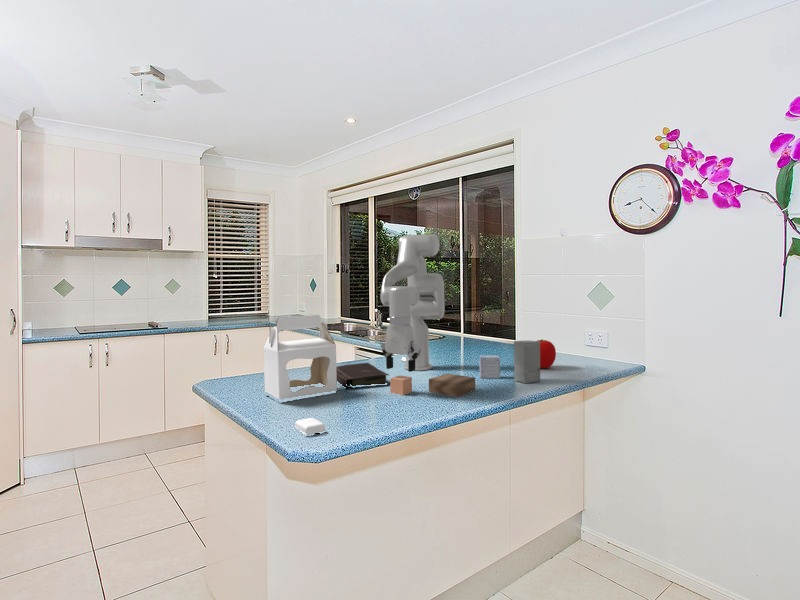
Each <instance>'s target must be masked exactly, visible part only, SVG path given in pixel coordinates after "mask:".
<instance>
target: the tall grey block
mask: <svg viewBox="0 0 800 600" xmlns="http://www.w3.org/2000/svg"><path fill="white" fill-rule="evenodd" d="M513 369H514V370H513V374H514V375H513V380H514V381H515V382H520V383H522V384H525V383H526V384H531V382H532V383H537V382H541V368H540V342H539V341H537V340H530V339H529V340H515V341H513Z"/></svg>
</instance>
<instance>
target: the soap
mask: <svg viewBox="0 0 800 600" xmlns="http://www.w3.org/2000/svg"><path fill="white" fill-rule="evenodd" d="M294 426H295V427H296V428H297V429H299V430H300V432H302V433H303V434H305V435H309V434H314V433H318V432H323V431H326V430H327V428H326V425H325V424H324V423H323V422H321V421H320V420H318V419H316V418H314V417H310V418H303V419H299V420H296V421H295V423H294Z"/></svg>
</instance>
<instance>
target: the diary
mask: <svg viewBox="0 0 800 600" xmlns="http://www.w3.org/2000/svg"><path fill="white" fill-rule="evenodd" d="M336 372H337V381H338V382H339V383H340V384H342V386H344V387H347V386H346V384H347V385H348V386H350V384H351V385H352V386H356V385H371V384H385V383H388V382H387V376H390V374H388V373H386V372H385V371H383V370H380V369H378V368H377V367H376V366H375V365H373V364H371V363H369V362H362V363H361V362H360V363H351V364H342V365H336ZM388 385H390V382H389V383H388ZM342 386H341V387H342ZM350 387H351V386H350Z"/></svg>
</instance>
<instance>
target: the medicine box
mask: <svg viewBox="0 0 800 600" xmlns="http://www.w3.org/2000/svg"><path fill="white" fill-rule="evenodd" d="M500 368H501V357H500V356H499V355H479V379H500V378H501V369H500Z"/></svg>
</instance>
